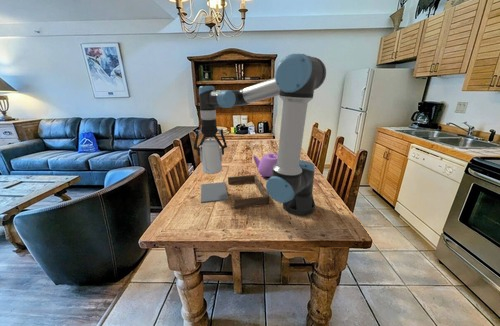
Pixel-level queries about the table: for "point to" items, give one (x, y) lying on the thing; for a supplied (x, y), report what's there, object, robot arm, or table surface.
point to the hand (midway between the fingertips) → (211, 161)
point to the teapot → (266, 164)
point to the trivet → (213, 192)
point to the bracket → (250, 201)
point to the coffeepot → (211, 156)
